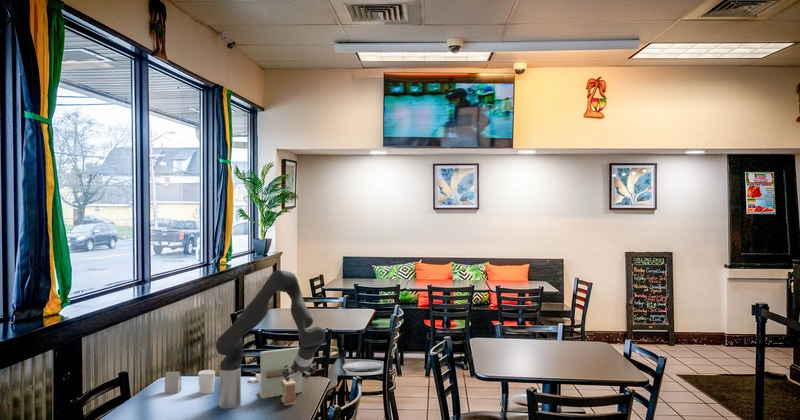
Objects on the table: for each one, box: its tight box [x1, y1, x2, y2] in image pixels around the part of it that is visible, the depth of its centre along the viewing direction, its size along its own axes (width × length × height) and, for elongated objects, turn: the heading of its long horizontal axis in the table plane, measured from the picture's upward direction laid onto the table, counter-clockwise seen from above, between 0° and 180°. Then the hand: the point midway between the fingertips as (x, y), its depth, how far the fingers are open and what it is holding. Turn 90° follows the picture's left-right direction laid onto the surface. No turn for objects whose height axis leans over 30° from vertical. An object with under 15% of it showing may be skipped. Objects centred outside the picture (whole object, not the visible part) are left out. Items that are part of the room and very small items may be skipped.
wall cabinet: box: [280, 378, 297, 406], centre depth 263 cm, size 9×5×10 cm, turn 27°
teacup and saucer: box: [248, 372, 261, 384], centre depth 297 cm, size 9×8×4 cm
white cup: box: [198, 369, 216, 395], centre depth 279 cm, size 8×8×10 cm
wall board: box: [257, 346, 303, 399], centre depth 276 cm, size 11×20×22 cm, turn 117°
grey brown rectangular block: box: [164, 371, 182, 394], centre depth 280 cm, size 4×7×10 cm, turn 87°
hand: (296, 378), depth 251 cm, fingers open, 8 cm apart
